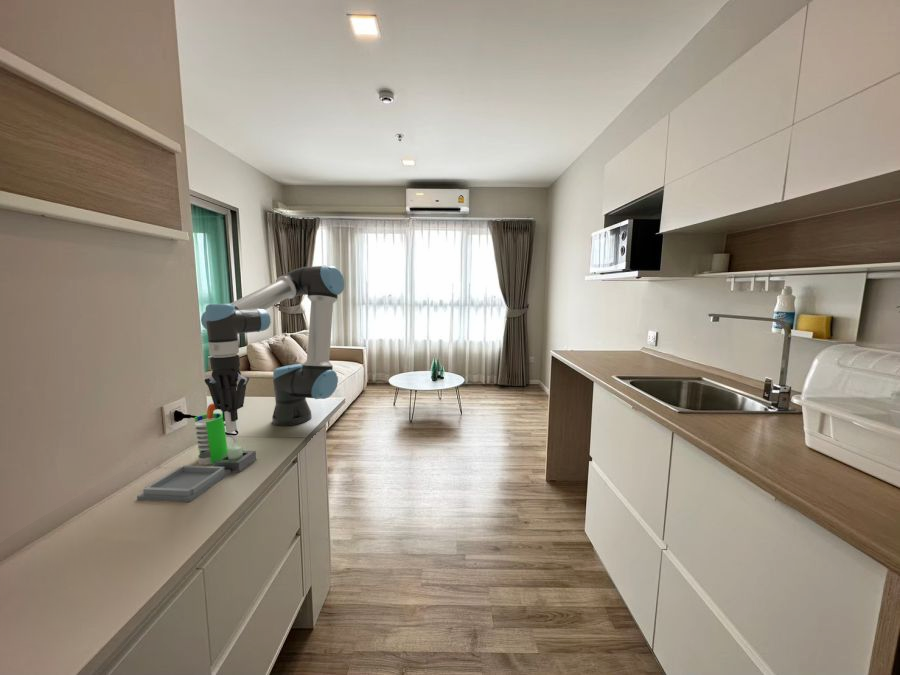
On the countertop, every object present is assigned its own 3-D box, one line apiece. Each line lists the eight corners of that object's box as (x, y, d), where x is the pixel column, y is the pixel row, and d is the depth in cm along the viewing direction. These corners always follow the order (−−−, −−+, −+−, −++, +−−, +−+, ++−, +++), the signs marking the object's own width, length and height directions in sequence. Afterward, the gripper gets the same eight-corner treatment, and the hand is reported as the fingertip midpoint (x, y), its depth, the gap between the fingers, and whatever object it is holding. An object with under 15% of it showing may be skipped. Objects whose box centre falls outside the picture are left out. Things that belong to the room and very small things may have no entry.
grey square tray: (184, 471, 109) (183, 463, 109) (230, 472, 108) (229, 465, 108) (137, 499, 95) (136, 491, 94) (190, 501, 93) (188, 493, 93)
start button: (234, 457, 114) (233, 445, 114) (246, 458, 114) (244, 446, 114) (225, 463, 111) (224, 451, 110) (237, 464, 110) (236, 451, 110)
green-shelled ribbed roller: (191, 462, 115) (184, 408, 113) (215, 451, 123) (209, 400, 121) (211, 466, 112) (205, 410, 110) (234, 455, 120) (229, 402, 117)
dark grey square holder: (233, 459, 117) (232, 450, 116) (256, 459, 116) (255, 450, 116) (215, 471, 109) (213, 462, 109) (239, 472, 108) (238, 462, 108)
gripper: (194, 357, 105) (202, 435, 108) (236, 357, 104) (243, 436, 106) (213, 353, 112) (220, 426, 115) (253, 353, 111) (259, 427, 114)
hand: (231, 431), depth 111 cm, fingers closed
